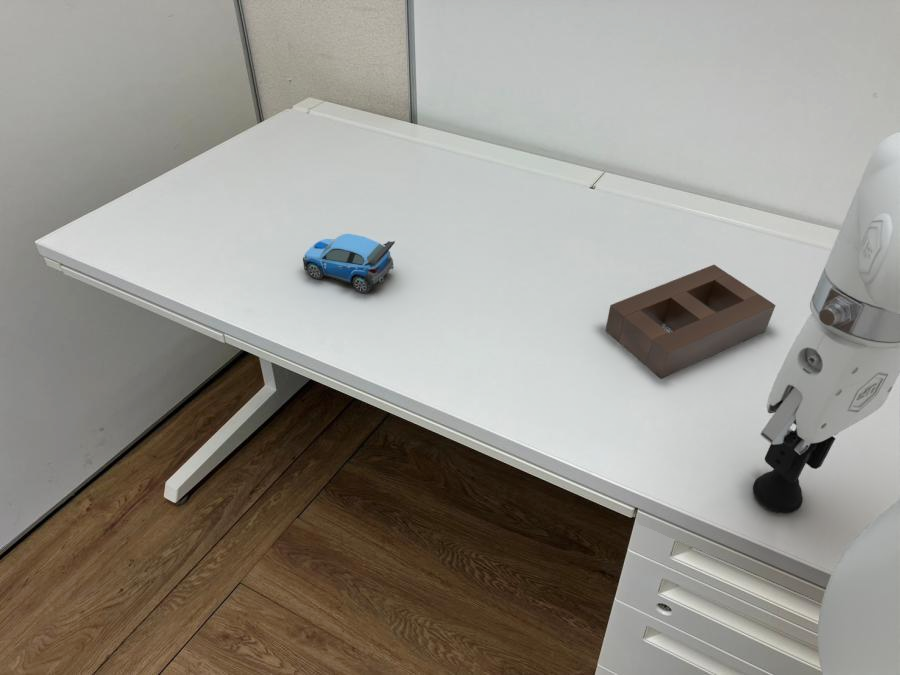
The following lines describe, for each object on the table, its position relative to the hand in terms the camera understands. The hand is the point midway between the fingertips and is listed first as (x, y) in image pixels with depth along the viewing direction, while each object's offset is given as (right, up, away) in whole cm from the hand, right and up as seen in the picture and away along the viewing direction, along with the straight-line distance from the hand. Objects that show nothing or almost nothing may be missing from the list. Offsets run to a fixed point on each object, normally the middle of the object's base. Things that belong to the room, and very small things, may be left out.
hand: (792, 463), depth 64 cm
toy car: (-45, +20, +31) cm, 58 cm away
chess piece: (0, -4, +3) cm, 5 cm away
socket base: (-2, +12, +22) cm, 25 cm away
